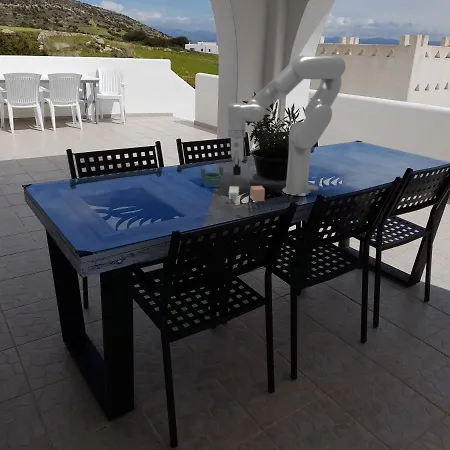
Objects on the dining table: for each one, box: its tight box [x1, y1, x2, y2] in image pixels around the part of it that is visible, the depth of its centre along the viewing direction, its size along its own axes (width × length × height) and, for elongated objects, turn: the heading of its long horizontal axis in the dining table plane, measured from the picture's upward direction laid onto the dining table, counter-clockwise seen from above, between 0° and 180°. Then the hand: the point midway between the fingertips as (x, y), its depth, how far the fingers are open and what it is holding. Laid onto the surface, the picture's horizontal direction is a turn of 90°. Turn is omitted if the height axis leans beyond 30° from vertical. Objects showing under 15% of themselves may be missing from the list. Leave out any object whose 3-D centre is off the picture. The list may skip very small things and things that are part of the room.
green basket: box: [200, 165, 224, 185], centre depth 206 cm, size 9×9×9 cm
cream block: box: [228, 185, 240, 199], centre depth 189 cm, size 4×4×9 cm
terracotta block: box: [249, 185, 266, 202], centre depth 186 cm, size 5×5×6 cm
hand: (236, 174), depth 194 cm, fingers closed
